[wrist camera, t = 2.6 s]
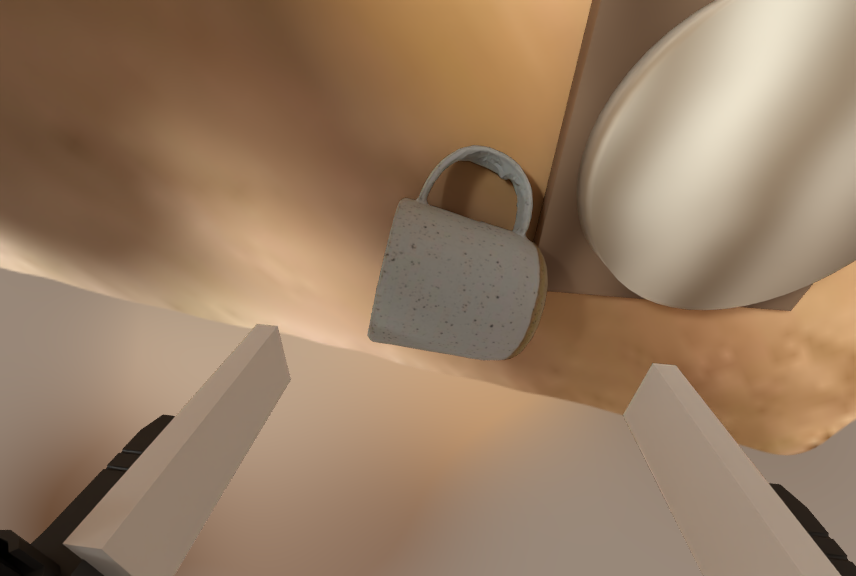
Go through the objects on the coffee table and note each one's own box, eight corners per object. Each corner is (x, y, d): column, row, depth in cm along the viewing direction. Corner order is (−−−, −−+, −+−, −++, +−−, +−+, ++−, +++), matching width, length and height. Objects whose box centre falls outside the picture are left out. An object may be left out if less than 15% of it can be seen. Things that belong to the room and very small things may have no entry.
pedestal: (524, 279, 21) (535, 311, 18) (608, -66, 13) (656, -114, 10) (774, 300, 21) (829, 336, 18) (1037, -49, 12) (1232, -95, 9)
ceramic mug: (494, 315, 23) (511, 403, 16) (383, 288, 23) (354, 368, 16) (560, 164, 18) (623, 205, 11) (415, 125, 17) (390, 143, 11)
